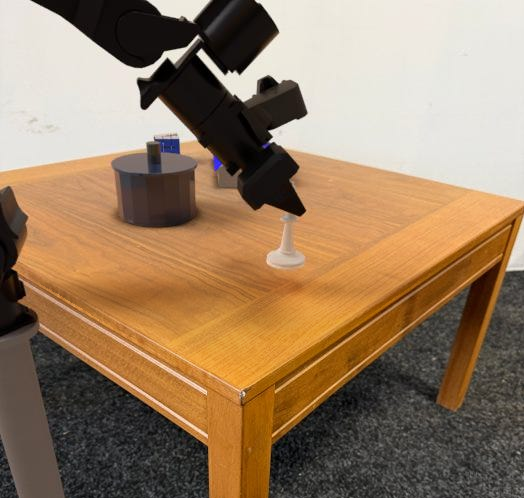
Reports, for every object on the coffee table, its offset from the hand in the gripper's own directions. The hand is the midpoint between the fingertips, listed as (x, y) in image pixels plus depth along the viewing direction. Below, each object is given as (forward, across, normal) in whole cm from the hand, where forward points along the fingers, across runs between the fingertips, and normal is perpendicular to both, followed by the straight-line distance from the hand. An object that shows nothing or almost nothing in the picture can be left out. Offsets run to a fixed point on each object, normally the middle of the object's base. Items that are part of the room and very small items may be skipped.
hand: (300, 210), depth 66 cm
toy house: (+9, +54, +5) cm, 55 cm away
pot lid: (-10, +30, +13) cm, 34 cm away
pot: (-4, +30, +19) cm, 35 cm away
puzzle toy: (-2, +64, +16) cm, 66 cm away
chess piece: (+4, 0, +6) cm, 7 cm away
